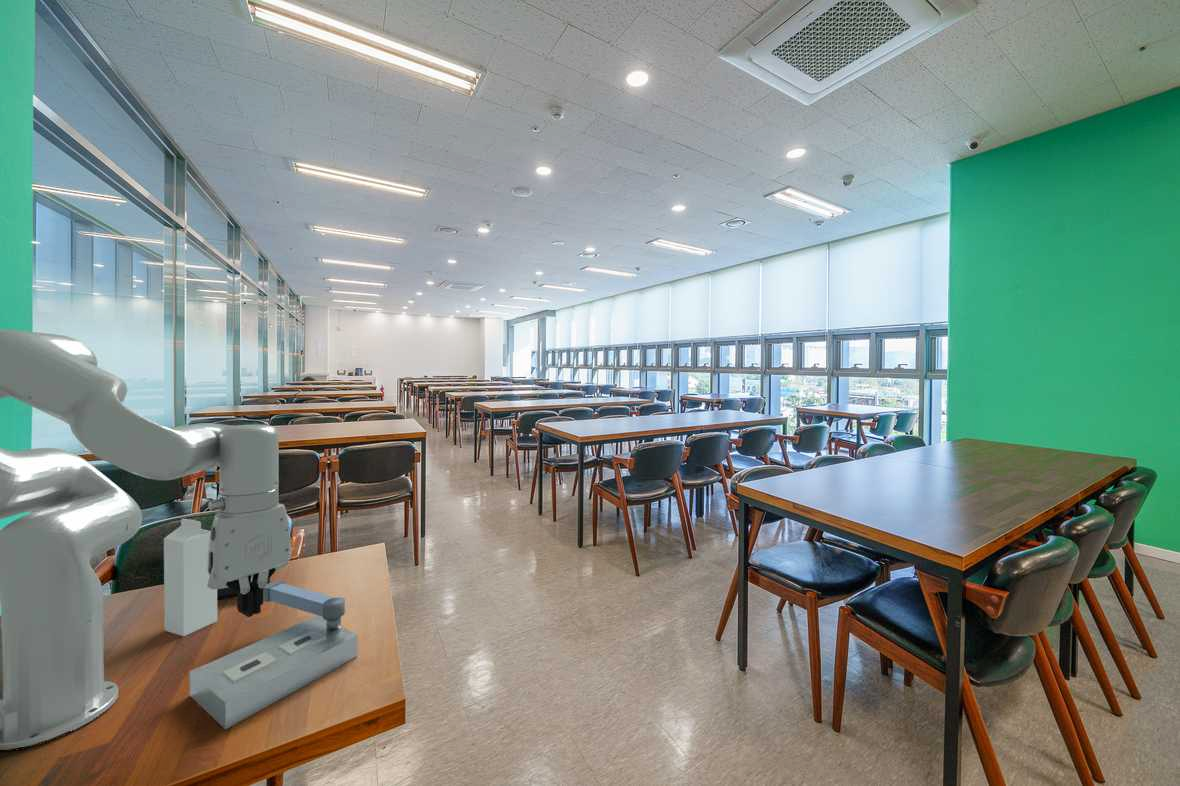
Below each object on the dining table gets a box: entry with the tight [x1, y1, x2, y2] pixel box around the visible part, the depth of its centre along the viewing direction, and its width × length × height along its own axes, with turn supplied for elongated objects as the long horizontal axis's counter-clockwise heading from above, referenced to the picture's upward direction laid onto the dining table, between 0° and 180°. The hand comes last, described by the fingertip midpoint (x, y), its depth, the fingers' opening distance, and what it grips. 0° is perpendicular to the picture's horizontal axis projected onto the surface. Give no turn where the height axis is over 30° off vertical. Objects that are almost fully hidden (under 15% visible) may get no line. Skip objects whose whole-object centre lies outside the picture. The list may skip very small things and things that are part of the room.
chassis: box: [189, 615, 359, 730], centre depth 76 cm, size 20×13×6 cm, turn 150°
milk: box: [163, 518, 218, 637], centre depth 89 cm, size 6×6×22 cm
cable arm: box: [263, 579, 346, 620], centre depth 86 cm, size 20×4×3 cm, turn 69°
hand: (250, 612), depth 71 cm, fingers closed
